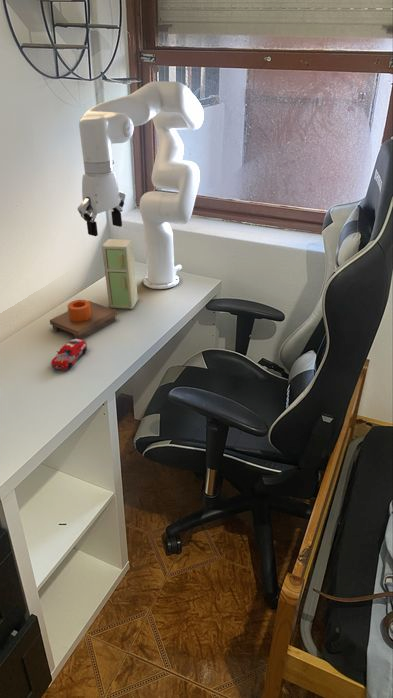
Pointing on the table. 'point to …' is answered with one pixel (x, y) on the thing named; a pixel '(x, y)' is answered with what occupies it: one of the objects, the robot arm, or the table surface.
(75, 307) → the ring
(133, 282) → the toy refrigerator
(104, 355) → the table surface
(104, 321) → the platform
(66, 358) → the race car
